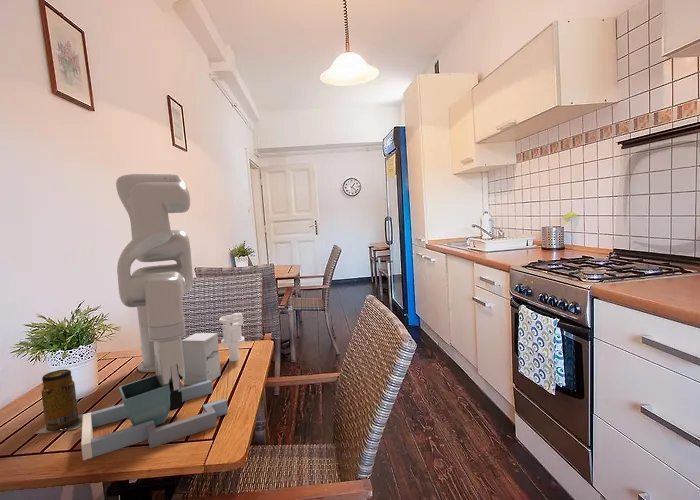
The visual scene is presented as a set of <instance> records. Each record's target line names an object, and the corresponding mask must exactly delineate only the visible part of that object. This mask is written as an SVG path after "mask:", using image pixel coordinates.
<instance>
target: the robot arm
mask: <svg viewBox="0 0 700 500" xmlns="http://www.w3.org/2000/svg"><path fill="white" fill-rule="evenodd" d="M115 189H116V191H117V196H118V197H119V199H120V201H121V203H122V205H123V207H124V208H125V211H126V212H127V215H128V217H129V221H130V222H129V223H130V230H131V231H130V232H131V239H132V240H130V242H129V243H128V244H127V245H126V246H125V247H124V249H122V251H121V253H120V256H119V257H118V261H117V265H116V267H117V269H116V273H117V275H116V276H117V283H118V284H117V287H118V295H119V299H120V301H121V303H122V304H123V305H124V306H125V307H128V308H136V309H137V310H136V311H137V319H138V326H139V327H138V328H139V329H138V330H139V337H140V347H141V357H142V361H141V362H140V363H138V364H137V370H138V371H139V372H141V373H155V375H156V376H157V379H158V381H159V383H160V384H161V385H162V386H165V385H166V384H168V383H169V387H170V410H169V412H171V411H175V410H177V409H181V408H183V407H184V404H183V402H182V392H181V385H180V382H184V379H185V369H184V358H183V350H182V342H181V340H182V337H184V336H186V334H187V333H186V324H185V314H184V313H185V312H184V304H183V301H184V300H183V296H184V295H185V294H186V293H188V292H190V291H191V290H192V288H193V285H194V274H193V262H192V261H193V260H192V250H191V243H190V238H189V236H188V234H187V232H185V231H183V230H179V229H173V230H172V229H171V225H170V217H169V214H180V213H181V214H184V213H186V212H188V211H189V210H190V207H191V206H190V205H191V195H190V191H189V188H188V186H187V184H186V183H185V181H184V180H183V178H182V176H180V175H179V174H167V173H166V174H164V173H163V174H162V173H159V174H158V173H156V174H155V173H153V174H152V173H131V174H129V173H128V174H124V175H121V176H119V177H118V178H117V179H116V182H115ZM136 260H137V261H138V262H142V263H155V262H157V263H158V262H166V261H175V263H171V264H161V265H160V264H159V265H152V266H151V265H149V266H144V267H139V268H137V269H135V270H134V271H133V272H132V274H131V266H132V265H133V263H134V261H136Z"/></svg>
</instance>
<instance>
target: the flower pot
mask: <svg viewBox="0 0 700 500" xmlns="http://www.w3.org/2000/svg"><path fill="white" fill-rule="evenodd" d="M118 390H119V393H120V396H121V400H122V404H123V403H124V406H125V409H126V411H127V413H128V416H129V417H128V419H129V421H130V423H131V424H132V426H136V425H139V424H142V423H145V422H149V421H152V420H154V423H155V426H156V427H157V426H160V425H161V424H164V423H166V420H167V419H168V416H169V413H170V411H169V410H170V387H169V383H168V384H166V385H165V386H162V385H161V384H160V383H159V381H158V379H157V376H156V374H155V375H151V376H148V377H145V378H142V379H138V380H135V381H133V382H129V383H126V384H123V385H121V386H119V387H118Z"/></svg>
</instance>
